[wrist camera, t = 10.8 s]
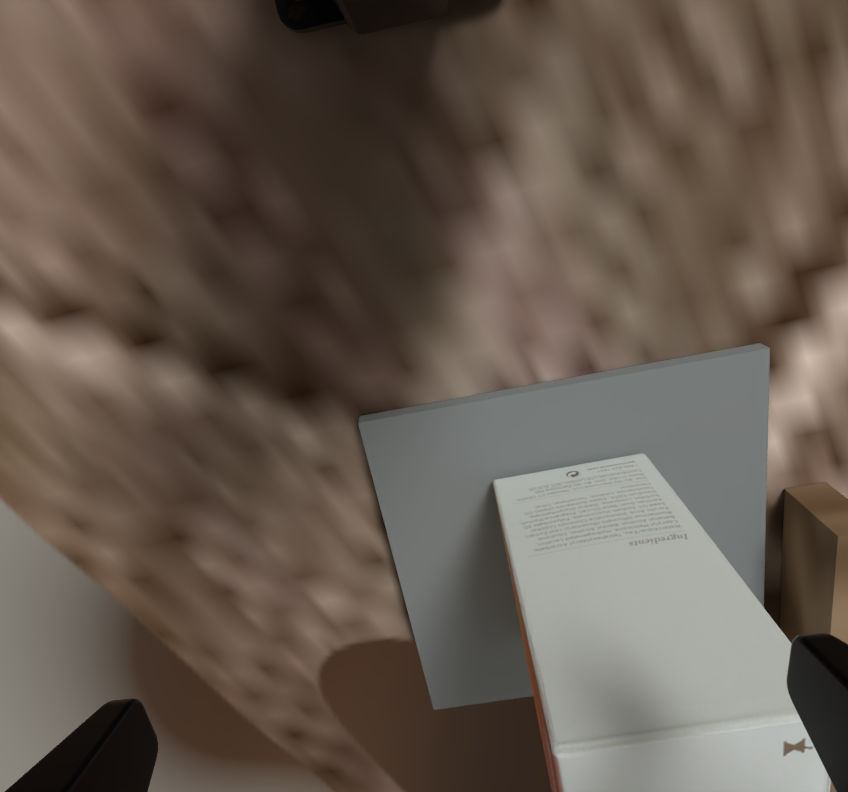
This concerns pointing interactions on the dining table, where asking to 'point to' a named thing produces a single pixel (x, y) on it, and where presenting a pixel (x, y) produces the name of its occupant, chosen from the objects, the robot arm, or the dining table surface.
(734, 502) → the slate mat
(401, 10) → the robot arm
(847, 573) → the walnut bay
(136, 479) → the dining table surface
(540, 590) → the small box
